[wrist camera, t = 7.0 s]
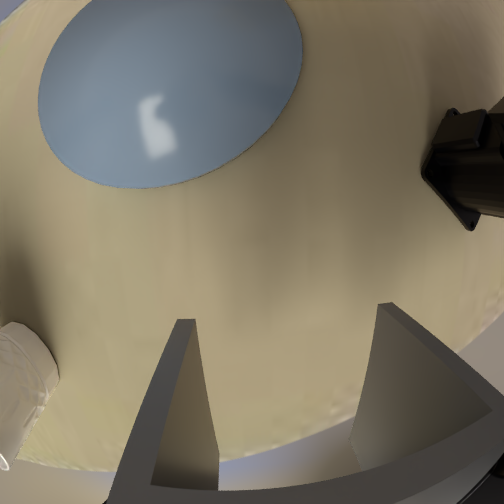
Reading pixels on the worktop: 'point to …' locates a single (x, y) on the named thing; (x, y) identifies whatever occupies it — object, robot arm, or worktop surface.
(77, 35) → the dish
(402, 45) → the worktop surface
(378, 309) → the cover
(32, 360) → the white cup
